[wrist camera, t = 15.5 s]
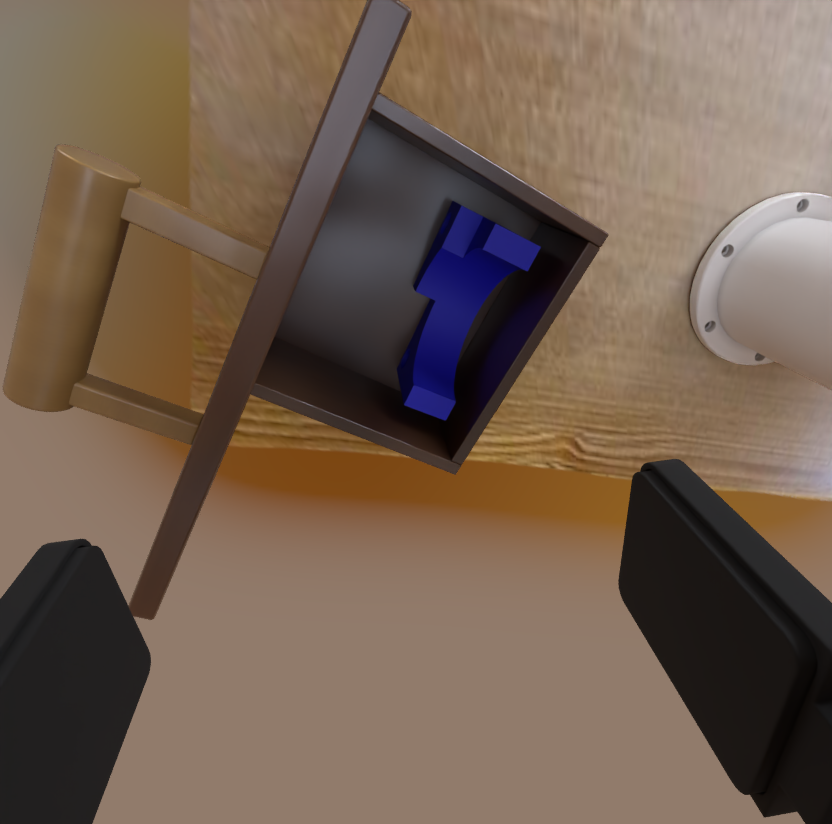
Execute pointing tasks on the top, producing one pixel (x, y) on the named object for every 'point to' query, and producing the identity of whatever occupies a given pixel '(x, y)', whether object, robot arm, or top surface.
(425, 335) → the blue notched block
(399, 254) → the keepsake box
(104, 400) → the lid
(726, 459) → the top surface
